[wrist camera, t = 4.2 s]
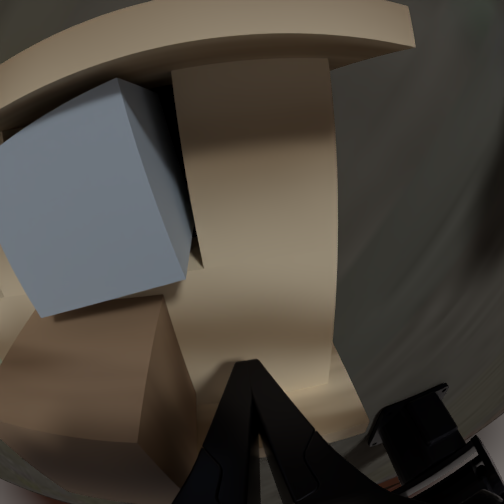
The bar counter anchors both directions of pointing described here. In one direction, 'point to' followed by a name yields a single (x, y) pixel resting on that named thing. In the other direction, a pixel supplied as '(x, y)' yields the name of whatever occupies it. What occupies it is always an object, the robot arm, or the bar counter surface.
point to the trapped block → (94, 200)
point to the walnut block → (102, 401)
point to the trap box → (232, 175)
